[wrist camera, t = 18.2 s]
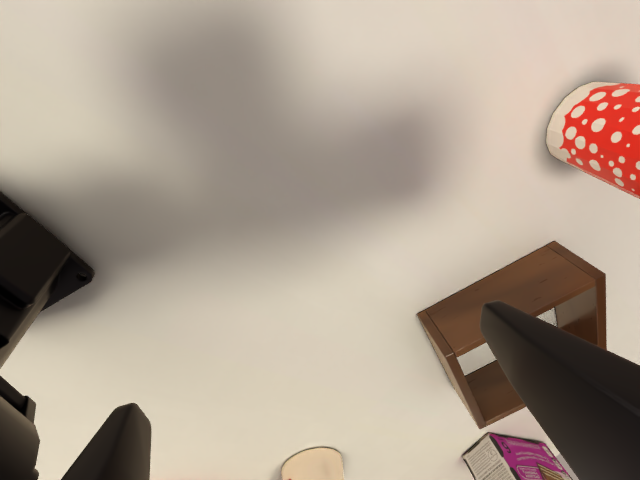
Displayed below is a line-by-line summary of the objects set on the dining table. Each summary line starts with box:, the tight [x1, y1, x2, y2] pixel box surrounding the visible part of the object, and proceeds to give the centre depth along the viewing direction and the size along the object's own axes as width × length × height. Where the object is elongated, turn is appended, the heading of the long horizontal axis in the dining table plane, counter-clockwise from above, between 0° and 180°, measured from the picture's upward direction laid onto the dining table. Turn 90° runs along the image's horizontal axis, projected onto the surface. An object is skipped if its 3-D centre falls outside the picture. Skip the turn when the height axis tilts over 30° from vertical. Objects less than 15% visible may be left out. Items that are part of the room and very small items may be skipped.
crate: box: [417, 241, 607, 429], centre depth 27 cm, size 11×11×4 cm
